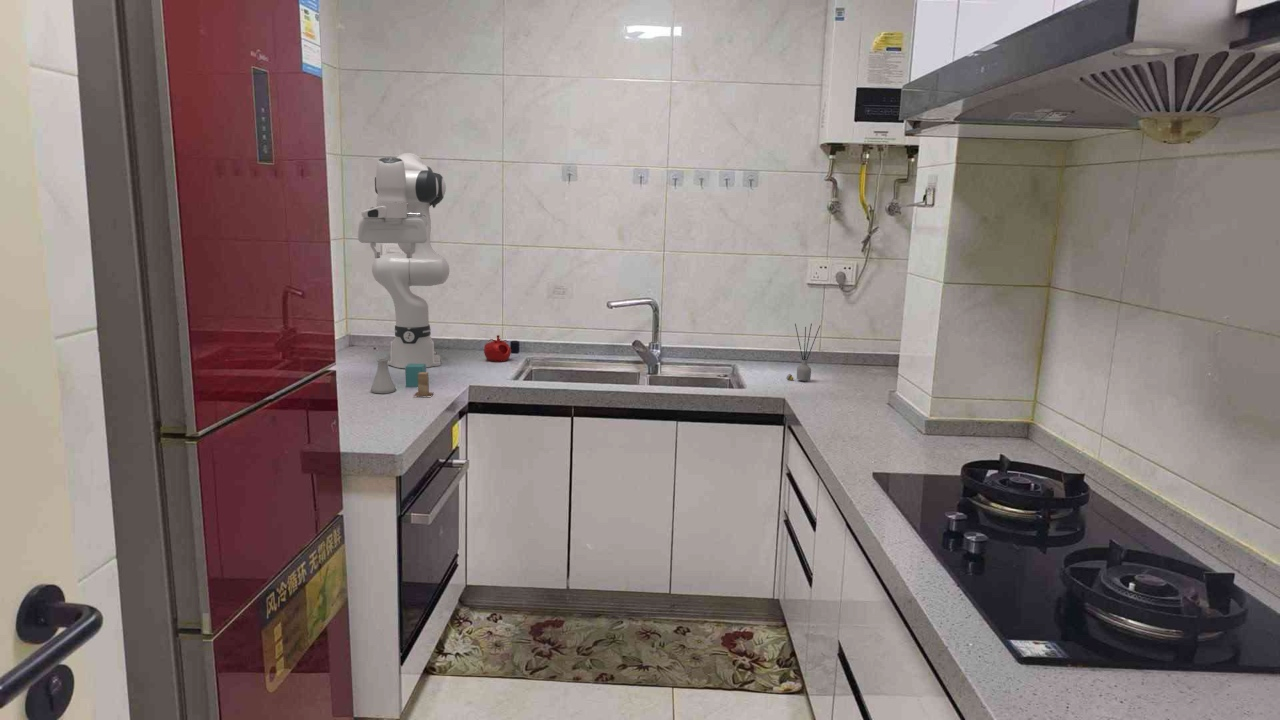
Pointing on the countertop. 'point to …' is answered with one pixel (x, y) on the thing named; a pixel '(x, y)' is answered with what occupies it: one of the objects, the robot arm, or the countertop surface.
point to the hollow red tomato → (497, 350)
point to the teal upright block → (413, 374)
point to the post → (423, 385)
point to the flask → (383, 378)
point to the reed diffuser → (803, 362)
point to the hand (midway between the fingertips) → (393, 258)
